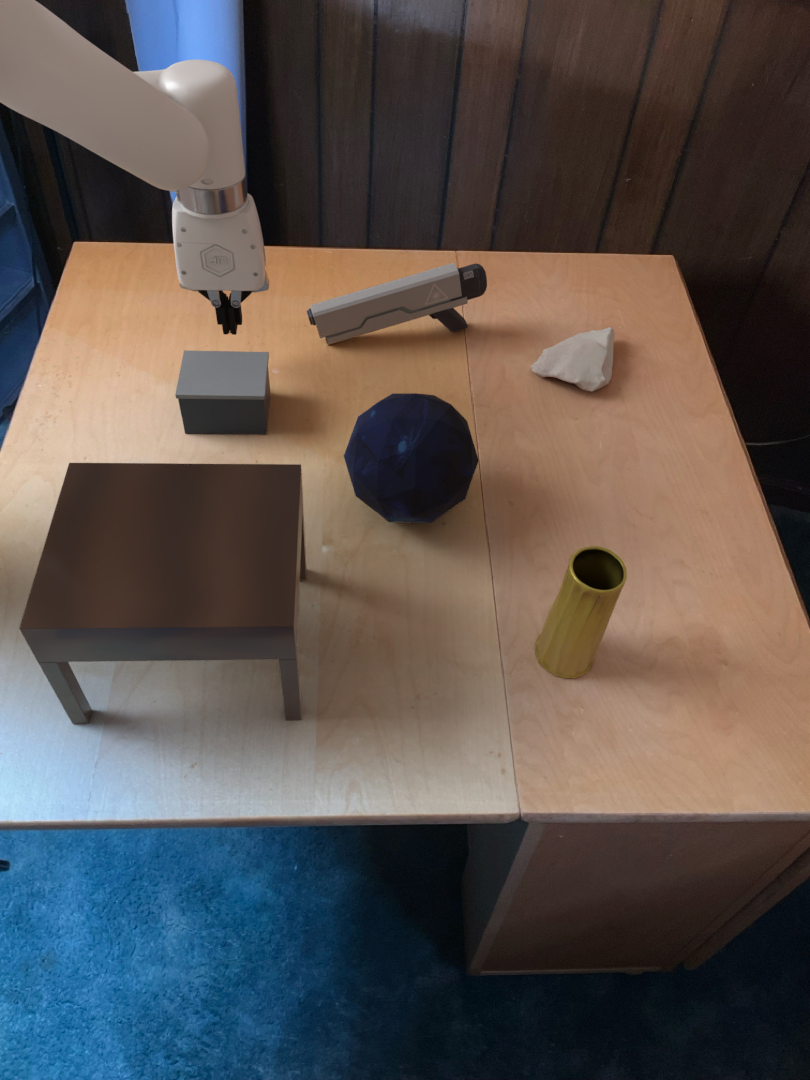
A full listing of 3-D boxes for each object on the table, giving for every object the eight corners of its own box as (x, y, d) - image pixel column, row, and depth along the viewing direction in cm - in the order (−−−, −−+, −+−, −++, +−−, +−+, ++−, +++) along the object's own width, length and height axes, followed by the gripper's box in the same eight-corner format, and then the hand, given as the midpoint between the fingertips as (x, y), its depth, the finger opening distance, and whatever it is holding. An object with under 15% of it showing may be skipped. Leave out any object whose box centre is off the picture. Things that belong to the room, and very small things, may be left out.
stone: (528, 348, 108) (582, 302, 116) (522, 373, 111) (575, 326, 119) (597, 382, 104) (648, 332, 112) (589, 407, 107) (639, 356, 115)
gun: (492, 322, 116) (487, 262, 108) (325, 372, 115) (307, 316, 107) (487, 312, 117) (481, 252, 109) (322, 361, 117) (304, 305, 109)
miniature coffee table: (72, 724, 74) (18, 628, 62) (111, 556, 87) (72, 449, 74) (301, 720, 76) (293, 626, 64) (307, 556, 88) (301, 451, 76)
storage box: (183, 434, 99) (174, 394, 94) (191, 390, 105) (183, 350, 100) (268, 435, 100) (264, 396, 95) (272, 391, 105) (268, 351, 100)
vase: (584, 625, 85) (620, 539, 74) (601, 676, 81) (642, 593, 70) (528, 630, 84) (556, 544, 73) (542, 682, 80) (575, 599, 69)
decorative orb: (363, 547, 83) (449, 434, 77) (298, 456, 91) (372, 347, 85) (447, 558, 94) (528, 460, 88) (383, 476, 101) (453, 380, 96)
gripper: (138, 205, 86) (167, 345, 100) (279, 208, 87) (288, 347, 101) (148, 170, 91) (175, 309, 105) (282, 174, 92) (290, 311, 106)
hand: (230, 327), depth 103 cm, fingers closed
